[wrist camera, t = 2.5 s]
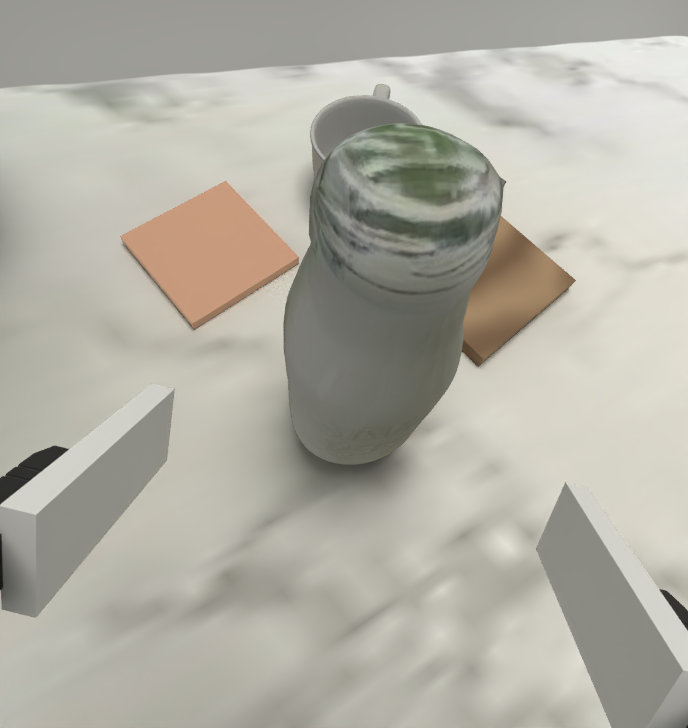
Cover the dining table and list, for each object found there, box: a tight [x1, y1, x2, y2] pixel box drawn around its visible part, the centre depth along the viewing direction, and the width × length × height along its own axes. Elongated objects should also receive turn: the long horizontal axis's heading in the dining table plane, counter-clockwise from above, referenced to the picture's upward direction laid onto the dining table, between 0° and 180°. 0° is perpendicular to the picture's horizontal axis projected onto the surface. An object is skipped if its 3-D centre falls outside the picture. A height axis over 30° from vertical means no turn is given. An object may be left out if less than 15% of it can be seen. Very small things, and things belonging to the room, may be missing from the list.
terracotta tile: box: [120, 181, 299, 329], centre depth 47 cm, size 12×12×1 cm
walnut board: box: [462, 216, 576, 366], centre depth 48 cm, size 14×14×2 cm
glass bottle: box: [284, 123, 506, 465], centre depth 29 cm, size 10×10×28 cm
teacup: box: [310, 84, 422, 178], centre depth 49 cm, size 14×11×8 cm
